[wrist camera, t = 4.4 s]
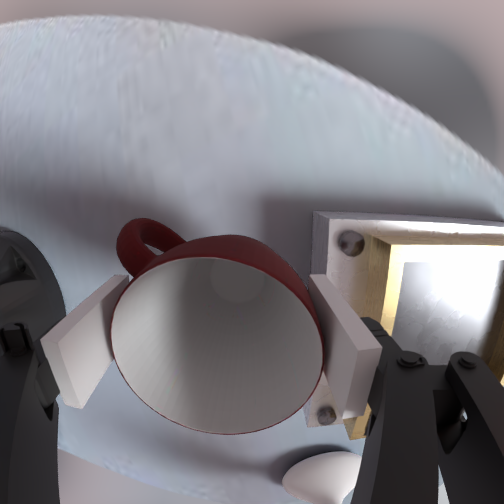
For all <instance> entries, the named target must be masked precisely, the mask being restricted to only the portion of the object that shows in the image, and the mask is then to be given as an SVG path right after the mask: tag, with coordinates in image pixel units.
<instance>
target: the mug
mask: <svg viewBox="0 0 504 504" xmlns="http://www.w3.org/2000/svg"><path fill="white" fill-rule="evenodd" d="M145 244H148V245H150V246H153V247H155V248H157V249H159V250H161V251H163V252H165V253H163V254H161V255H160V256H157V255H155V254H154V253H153V252H152V251H151V250H150V249H149V248H148V247H147V246H146V245H145ZM116 250H117V255H118V257H119V259H120V262H121V263H122V265H123V267H124V268H125V269H126V270H127V271H128V273H129V274H131V275H132V276H133V277H134V278H133V279H132V280H131V281H130V282H129V284H128V285H127V286H126V287H125V288H124V290H123V291H122V293H121V294H120V296H119V298H118V300H117V302H116V304H115V307H114V310H113V313H112V317H111V323H110V341H111V348H112V352H113V356H114V359H115V362H116V364H117V367H118V369H119V371H120V373H121V375H122V376H123V378H124V380H125V381H126V383H127V384H128V385H129V387H130V388H131V389H132V391H133V392H134V393H135V394H136V395H137V396H138V397H139V398H140V399H141V400H142V401H143V402H144V403H145V404H146V405H148V406H149V407H150V408H151V409H153V410H154V411H155V412H157V413H158V414H160V415H161V416H163V417H165V418H167V419H168V420H170V421H172V422H174V423H177V424H179V425H181V426H184V427H187V428H190V429H193V430H197V431H201V432H206V433H212V434H223V435H235V434H246V433H251V432H256V431H260V430H264V429H266V428H269V427H272V426H274V425H276V424H279V423H281V422H282V421H284V420H286V419H288V418H289V417H290V416H292V415H293V414H295V413H296V412H297V411H298V410H299V409H301V408H302V407H303V406H304V404H305V403H306V402H307V401H308V400H309V399H310V397H311V396H312V395H313V393H314V391H315V390H316V388H317V386H318V384H319V381H320V379H321V376H322V372H323V367H324V359H325V349H324V340H323V335H322V331H321V327H320V323H319V319H318V316H317V313H316V310H315V307H314V304H313V301H312V299H311V297H310V295H309V293H308V291H307V289H306V287H305V285H304V284H303V282H302V280H301V279H300V278H299V276H298V275H297V274H296V272H295V271H294V270H293V269H292V268H291V267H290V266H289V264H288V263H287V262H285V261H284V260H283V259H282V258H281V257H280V256H279V255H277V254H276V253H275V252H274V251H273V250H272V249H271V248H269V247H268V246H266V245H265V244H263V243H261V242H260V241H257V240H255V239H252V238H249V237H246V236H241V235H220V236H211V237H204V238H199V239H195V240H192V241H188V242H186V241H185V240H183V239H182V238H181V237H180V236H179V235H178V234H176V233H175V232H174V231H172V230H171V229H170V228H168V227H166V226H165V225H163V224H161V223H159V222H157V221H154V220H151V219H147V218H138V219H134V220H131V221H130V222H128V223H127V224H126V225H125V226H124V227H123V228H122V230H121V232H120V234H119V236H118V238H117V246H116Z"/></svg>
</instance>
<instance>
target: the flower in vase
mask: <svg viewBox="0 0 504 504" xmlns="http://www.w3.org/2000/svg"><path fill="white" fill-rule="evenodd" d="M361 460H362V457H361V456H359V455H357V454H355V453H352V452H345V451H338V452H329V453H323V454H319V455H316V456H312V457H310V458H307V459H305V460H302V461H301V462H299V463H297V464H295V465H294V466H293V467H291V468H290V469H289V470H288V471H287V472H286V474H285V475H284V477H283V479H282V485H283V487H284V489H285V490H286V491H287V492H288V493H289V494H290V495H292V496H294V497H296V498H298V499H301V500H304V501H307V502H310V503H313V504H342V501H343V499H344V497H345V496H346V495H347V494H348V493H349V492H350V491H351V490H352V489H353V488H354V487H355V485H356V481H357V477H358V473H359V469H360V464H361Z"/></svg>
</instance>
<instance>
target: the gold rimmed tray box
mask: <svg viewBox="0 0 504 504" xmlns="http://www.w3.org/2000/svg"><path fill="white" fill-rule="evenodd" d="M315 274H325V275H326V276H327V278H328V279H329V280H330V281H331V283H332V284H333V285H334V286H335V288H336V289H337V290H338V291H339V293H340V294H341V295H342V296H343V297H344V299H345V300H346V301H347V302H348V304H349V305H350V306H351V308H352V309H353V310H354V311H355V313H356V314H357V315H358V316H359V318H360V317H370V318H372V319H374V320H376V321H377V322H379V323H380V324H381V325H382V327H383V328H384V330H386V331H387V332H388V334H389V336H391V337H392V338H393V339H394V341H395V342H396V343H397V344H398V345H399V346H400V348H401V349H402V350H403V351H405V350H408V351H412V352H416V353H418V354H420V355H422V356H423V357H424V358H426V360H427V362H428V364H429V365H448V362H449V360H450V357H451V355H452V354H454V353H455V352H459V351H468V352H472V353H474V354H475V355H477V356H479V357H480V358H481V359H482V360H483V361H484V362H485V363H486V365H487V366H488V367H489V369H490V370H491V371H492V372H493V374H494V375H495V376H496V378H497V379H498V381H499V382H500V383H501V385H502V386H503V385H504V222H497V221H487V220H476V219H464V218H451V217H438V216H423V215H406V214H387V213H364V212H334V211H313V231H312V254H311V273H310V275H315ZM303 410H304V415H305V419H306V424H307V427H318V426H327V425H335V424H343V423H344V425H345V428H346V431H347V433H348V436H349V439H350V440H354V439H360V438H365V437H366V436H363V435H364V433H365V430H366V427H367V425H368V422H369V419H370V416H371V413H372V410H371V408H370V406H369V405H368V403H367V406H366V410H365V413H364V416H359V417H353V418H346V419H342V418H341V416H340V413H339V410H338V408H337V405H336V402H335V400H334V397H333V395H332V392H331V390H330V387H329V384H328V382H327V379H326V377H325V374H324V372H322V376H321V379H320V381H319V384H318V386H317V388H316V390H315V391H314V393H313V395H312V396H311V397H310V399H309V400H308V401H307V402H306V403H305V404H304V406H303Z"/></svg>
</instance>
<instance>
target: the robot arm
mask: <svg viewBox="0 0 504 504" xmlns="http://www.w3.org/2000/svg"><path fill="white" fill-rule="evenodd" d="M128 284H129V275H114V276H113V277H112V278H110V279H109V280H108V281H107V282H106V283H104V284H103V285H102V286H101V287H100V288H98V289H97V290H96V291H95V292H94V293H92V294H91V295H90V296H89V297H88V298H86V299H85V300H84V301H83V302H82V303H81V304H79V305H78V306H77V307H76V308H75V309H74V310H73V311H71V312H70V313H69V314H68V315H67V316H66V310H65V305H64V300H63V297H62V293H61V290H60V287H59V285H58V282H57V280H56V278H55V275H54V273H53V271H52V270H51V268H50V266H49V264H48V263H47V261H46V260H45V258H44V257H43V255H42V254H41V253H40V251H39V250H38V249H37V248H36V247H35V246H34V245H33V244H32V243H31V242H30V241H29V240H28V239H26V238H25V237H23V236H22V235H20V234H17V233H15V232H10V231H5V232H0V504H60V499H59V487H58V464H57V439H58V415H59V407H58V404H57V402H56V397H57V396H58V394H59V393H60V394H61V396H62V398H63V401H64V403H65V405H68V406H72V407H76V408H80V409H83V407H84V406H85V404H86V402H87V401H88V399H89V397H90V396H91V394H92V392H93V391H94V389H95V388H96V386H97V384H98V383H99V381H100V380H101V378H102V376H103V375H104V373H105V372H106V370H107V369H108V367H109V365H110V364H111V362H112V361H113V359H114V356H113V352H112V348H111V341H110V323H111V317H112V313H113V310H114V307H115V304H116V302H117V300H118V298H119V296H120V294H121V293H122V291H123V290H124V288H125V287H126V286H127V285H128ZM308 293H309V295H310V297H311V299H312V301H313V304H314V307H315V310H316V313H317V316H318V319H319V323H320V327H321V331H322V335H323V340H324V349H325V359H324V367H323V372H324V374H325V377H326V379H327V382H328V384H329V387H330V390H331V392H332V395H333V397H334V400H335V402H336V405H337V408H338V410H339V413H340V416H341V418H342V419H346V418H353V417H359V416H364V413H365V410H366V406H367V403H368V405H369V406H370V408H371V410H372V413H371V416H370V419H369V422H368V425H367V427H366V430H365V433H364V435H363V436H366V440H365V445H364V450H363V455H362V460H361V464H360V469H359V473H358V477H357V481H356V485H355V489H354V493H353V497H352V500H351V504H438V480H439V470H438V464H439V468H440V471H441V474H442V478H443V481H444V485H445V488H446V492H447V496H448V499H449V503H450V504H504V387H503V386H502V385H501V383H500V382H499V381H498V379H497V378H496V376H495V375H494V374H493V372H492V371H491V370H490V369H489V367H488V366H487V365H486V363H485V362H484V361H483V360H482V359H481V358H480V357H479V356H477V355H475V354H474V353H472V352H468V351H459V352H455V353H454V354H452V355H451V357H450V360H449V362H448V365H429V364H428V362H427V360H426V358H424V357H423V356H422V355H420V354H418V353H416V352H412V351H408V350H405V351H403V350H402V349H401V348H400V346H399V345H398V344H397V343H396V342H395V341H394V339H393V338H392V337H391V336H389V334H388V332H387V331H386V330H384V328H383V327H382V325H381V324H380V323H379V322H377V321H376V320H374V319H372V318H370V317H360V318H359V316H358V315H357V314H356V313H355V311H354V310H353V309H352V308H351V306H350V305H349V304H348V302H347V301H346V300H345V299H344V297H343V296H342V295H341V294H340V293H339V291H338V290H337V289H336V288H335V286H334V285H333V284H332V283H331V281H330V280H329V279H328V278H327V276H326V275H325V274H315V275H309V285H308ZM464 412H466V414H467V420H466V419H465V418H464V416H463V413H464Z"/></svg>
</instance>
